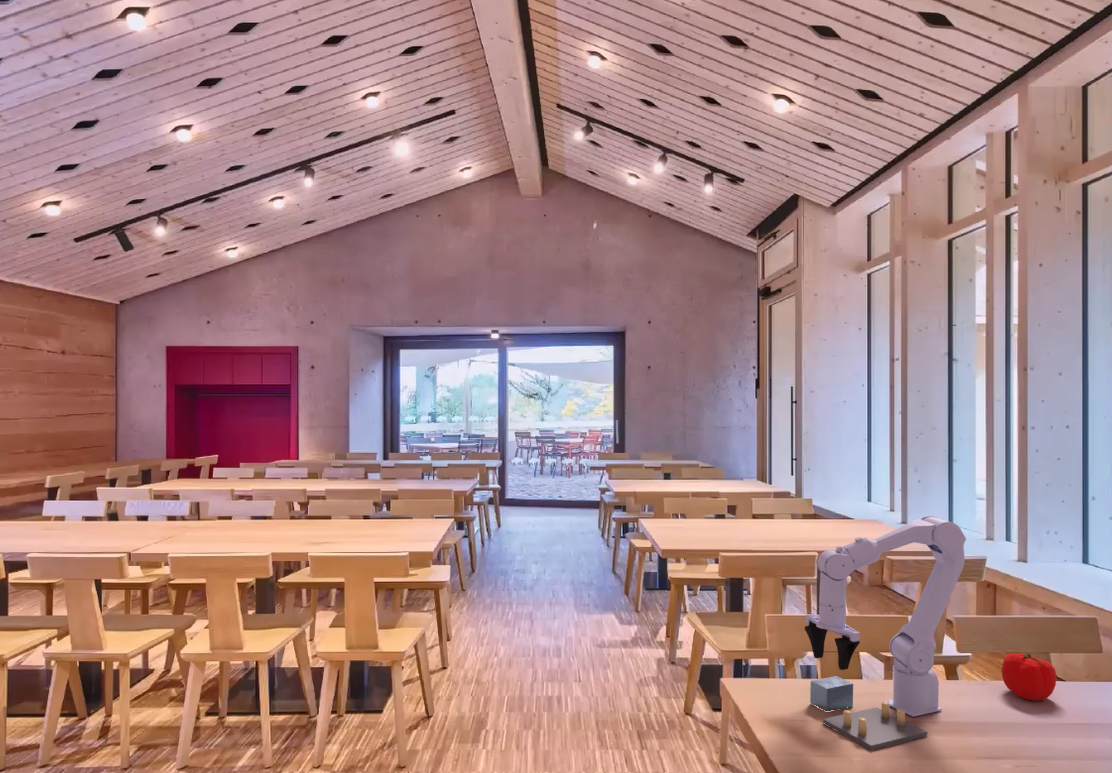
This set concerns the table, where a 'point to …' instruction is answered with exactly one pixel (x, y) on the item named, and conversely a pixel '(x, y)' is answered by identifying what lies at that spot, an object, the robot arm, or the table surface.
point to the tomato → (1028, 676)
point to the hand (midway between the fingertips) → (830, 663)
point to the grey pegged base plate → (875, 727)
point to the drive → (831, 693)
